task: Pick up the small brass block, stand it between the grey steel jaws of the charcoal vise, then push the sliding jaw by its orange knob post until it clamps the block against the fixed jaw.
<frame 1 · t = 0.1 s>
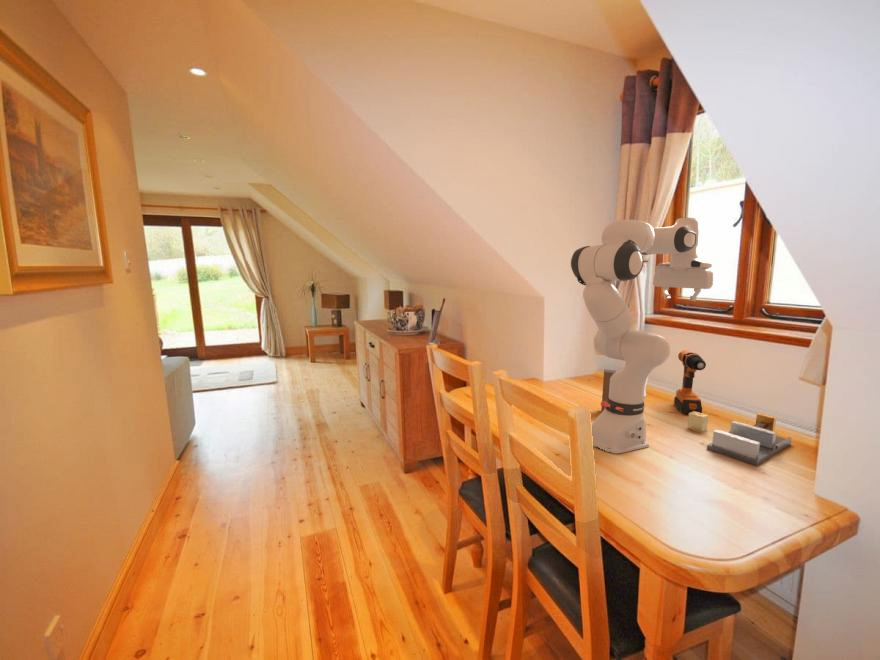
hand: (679, 299, 154), 48 cm above the table, tool pointing down, fingers open, 8 cm apart
power drill: (688, 411, 170), on the table
vise base: (749, 446, 138), on the table
sliding jaw: (758, 428, 140), point 5 cm above the table, slide at 0.0 cm
wooden block: (613, 414, 168), on the table
beer glass: (638, 395, 192), on the table
brass block: (697, 429, 152), on the table
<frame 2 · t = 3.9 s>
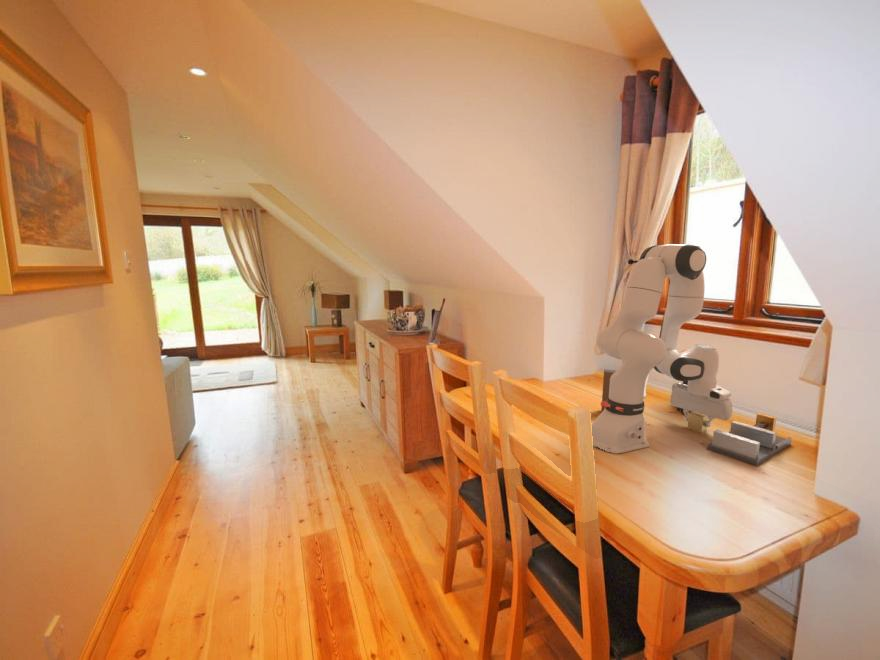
hand: (697, 423, 152), 2 cm above the table, tool pointing down, fingers closed on brass block, 5 cm apart
brass block: (696, 429, 152), on the table, touching gripper
everything else where it was.
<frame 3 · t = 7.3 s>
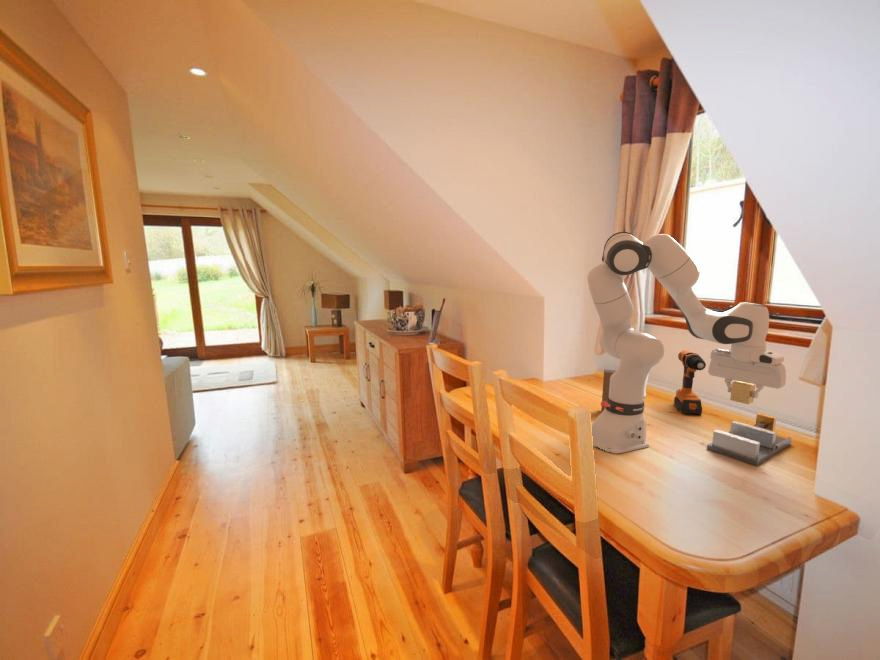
hand: (742, 394, 132), 19 cm above the table, tool pointing down, fingers closed on brass block, 5 cm apart
brass block: (741, 400, 132), point 17 cm above the table, touching gripper
everything else where it was.
when the fingers open (5 cm above the table, at t = 10.6 s): brass block drops 1 cm, resting on vise base.
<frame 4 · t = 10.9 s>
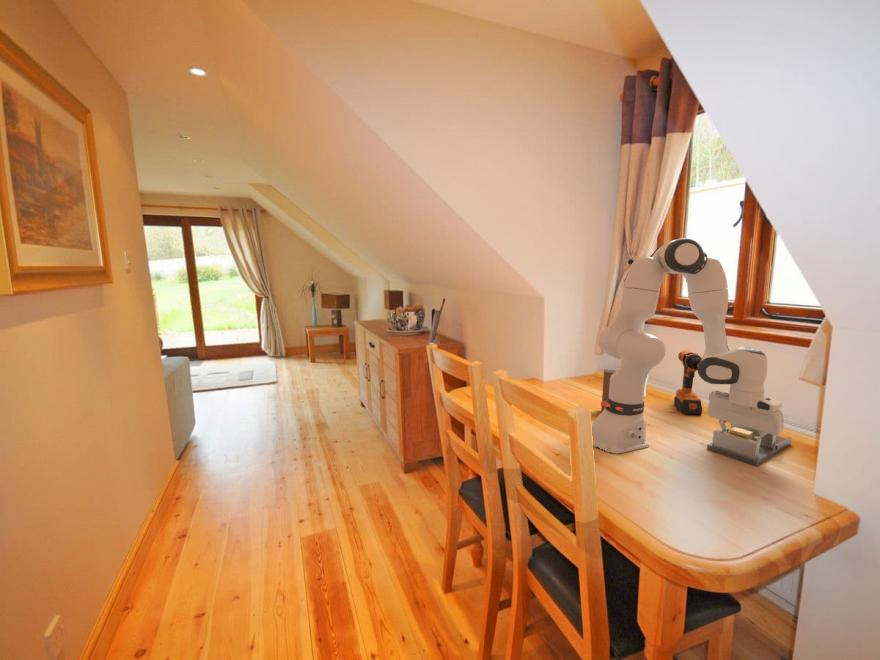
hand: (740, 438, 132), 5 cm above the table, tool pointing down, fingers open, 8 cm apart
brass block: (739, 448, 133), point 1 cm above the table, touching vise base
everything else where it was.
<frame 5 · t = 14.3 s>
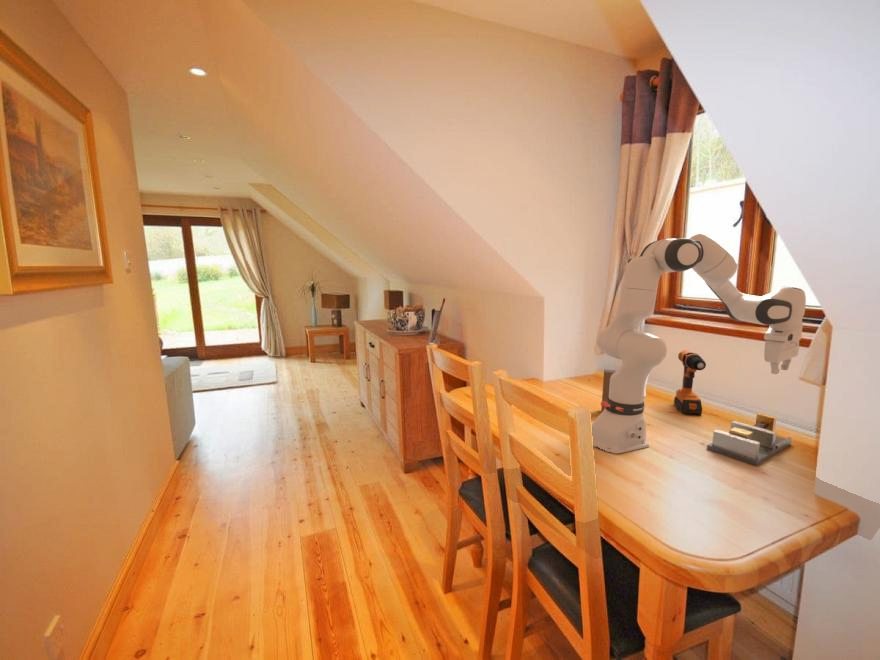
hand: (779, 371, 144), 24 cm above the table, tool pointing down, fingers open, 8 cm apart
nothing on the table moved.
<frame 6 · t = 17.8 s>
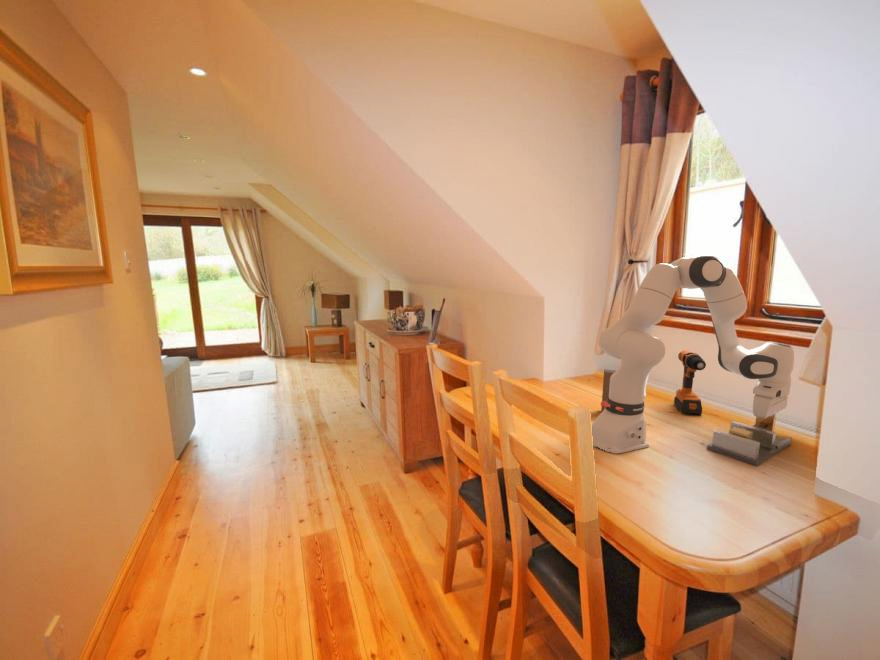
hand: (768, 424, 145), 4 cm above the table, tool pointing down, fingers closed
sliding jaw: (758, 428, 140), point 5 cm above the table, slide at 0.3 cm, touching gripper
everything else where it was.
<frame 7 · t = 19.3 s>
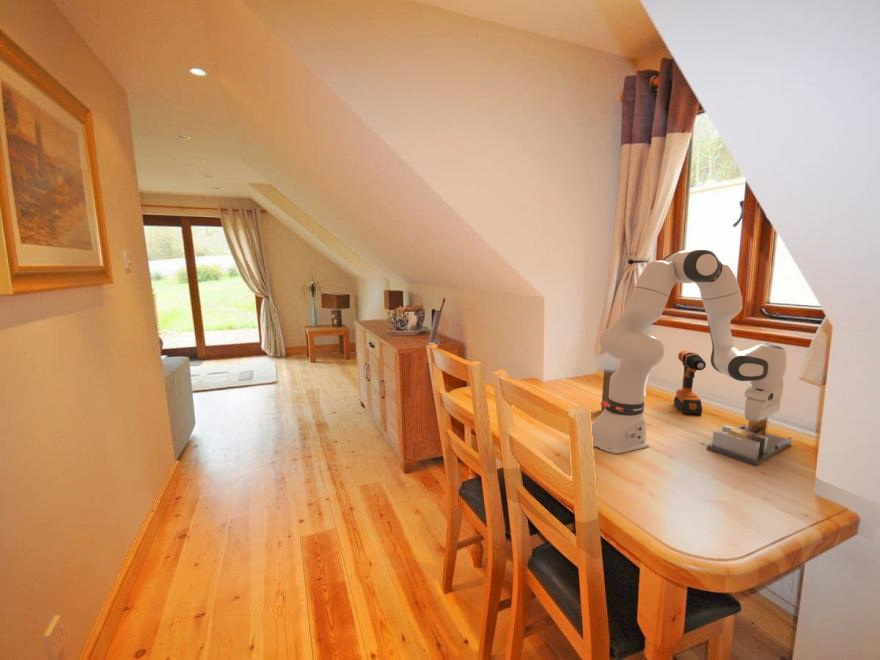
hand: (760, 428, 142), 5 cm above the table, tool pointing down, fingers closed
sliding jaw: (750, 432, 137), point 5 cm above the table, slide at 6.5 cm, touching brass block, gripper
brass block: (738, 448, 133), point 1 cm above the table, touching sliding jaw, vise base
everything else where it was.
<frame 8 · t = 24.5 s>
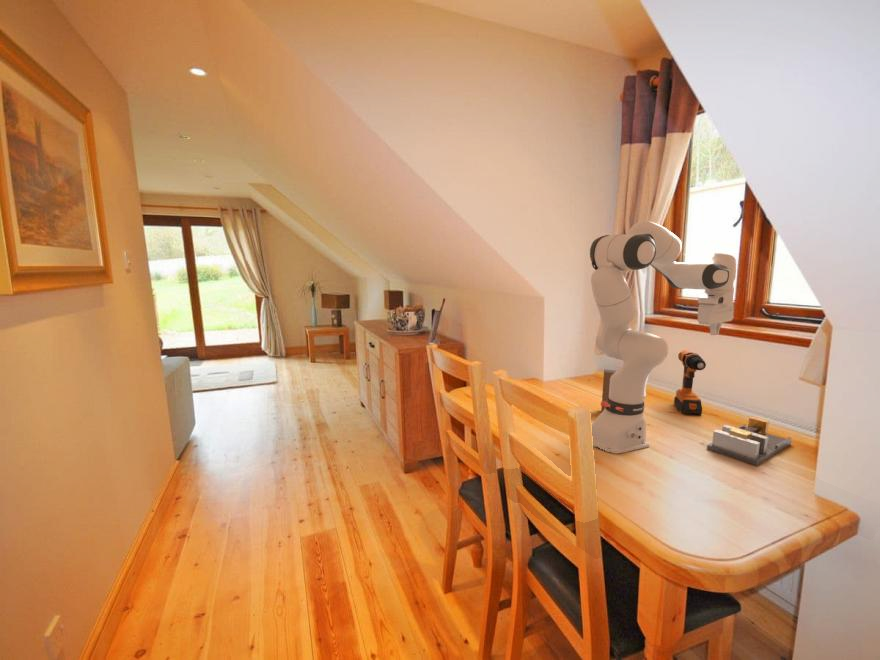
hand: (714, 334, 152), 35 cm above the table, tool pointing down, fingers closed
sliding jaw: (750, 432, 137), point 5 cm above the table, slide at 6.5 cm, touching brass block
everything else where it was.
at the end: brass block 0.5 cm from the target spot, point 1.5 cm above the table; brass block tilted 0°; sliding jaw slide at 6.5 cm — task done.
